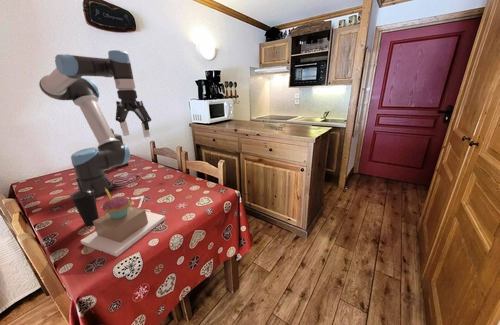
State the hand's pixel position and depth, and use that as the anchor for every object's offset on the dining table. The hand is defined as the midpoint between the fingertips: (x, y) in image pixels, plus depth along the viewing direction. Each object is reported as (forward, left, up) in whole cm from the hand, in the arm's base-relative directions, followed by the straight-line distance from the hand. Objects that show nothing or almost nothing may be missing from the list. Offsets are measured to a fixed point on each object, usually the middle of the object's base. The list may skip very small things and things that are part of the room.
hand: (136, 136), depth 99 cm
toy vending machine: (-55, +24, -31) cm, 67 cm away
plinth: (+17, -27, -31) cm, 44 cm away
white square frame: (0, -12, -31) cm, 34 cm away
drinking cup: (-2, -28, -31) cm, 42 cm away
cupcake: (+17, -28, -23) cm, 40 cm away
